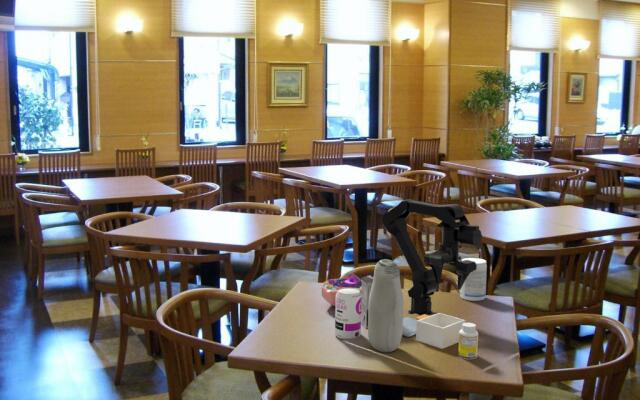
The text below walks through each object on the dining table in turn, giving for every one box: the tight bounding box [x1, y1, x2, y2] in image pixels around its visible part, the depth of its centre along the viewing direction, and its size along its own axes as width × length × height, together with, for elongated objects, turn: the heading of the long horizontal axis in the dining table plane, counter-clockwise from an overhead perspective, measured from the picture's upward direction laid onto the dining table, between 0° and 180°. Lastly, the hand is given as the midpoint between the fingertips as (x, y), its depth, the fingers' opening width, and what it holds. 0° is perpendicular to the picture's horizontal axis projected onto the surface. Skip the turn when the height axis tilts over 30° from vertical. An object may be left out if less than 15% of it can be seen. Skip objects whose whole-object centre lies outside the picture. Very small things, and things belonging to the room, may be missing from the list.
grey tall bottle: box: [367, 258, 405, 353], centre depth 216 cm, size 10×10×28 cm
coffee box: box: [361, 276, 374, 330], centre depth 240 cm, size 9×6×16 cm
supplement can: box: [334, 288, 362, 340], centre depth 229 cm, size 8×8×15 cm
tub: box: [415, 312, 467, 350], centre depth 226 cm, size 10×12×7 cm
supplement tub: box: [459, 257, 488, 302], centre depth 274 cm, size 10×10×15 cm
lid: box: [402, 314, 430, 338], centre depth 237 cm, size 11×17×3 cm, turn 135°
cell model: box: [321, 273, 362, 308], centre depth 261 cm, size 17×20×11 cm
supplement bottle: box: [457, 322, 479, 360], centre depth 213 cm, size 6×6×10 cm
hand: (448, 286), depth 246 cm, fingers open, 9 cm apart
